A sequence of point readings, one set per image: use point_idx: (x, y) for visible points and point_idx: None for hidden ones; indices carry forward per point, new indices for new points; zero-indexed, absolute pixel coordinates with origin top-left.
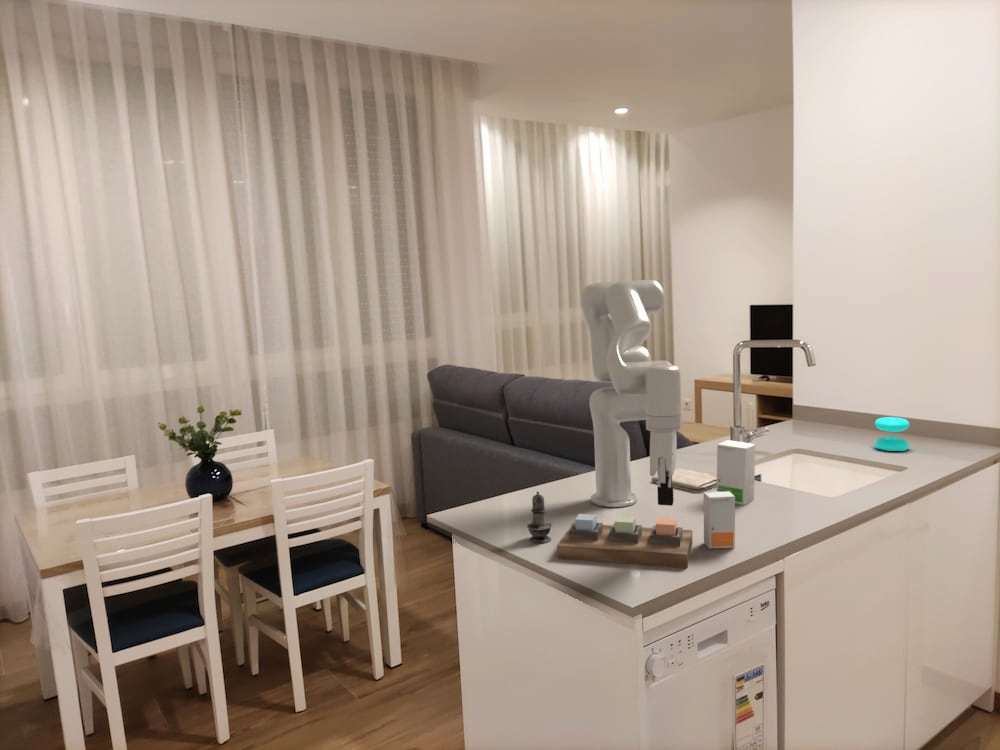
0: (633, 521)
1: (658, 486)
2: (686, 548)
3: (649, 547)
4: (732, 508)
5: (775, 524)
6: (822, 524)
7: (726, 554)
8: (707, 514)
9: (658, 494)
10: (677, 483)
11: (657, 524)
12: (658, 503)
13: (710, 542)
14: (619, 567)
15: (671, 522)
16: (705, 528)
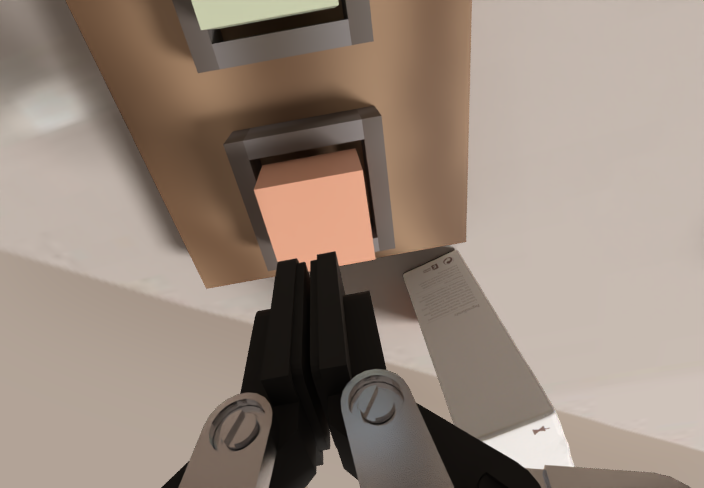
0: (237, 23)
1: (206, 425)
2: (262, 272)
3: (192, 141)
4: None
5: (623, 359)
6: (615, 421)
7: (375, 317)
8: (450, 357)
9: (270, 323)
10: None
11: (257, 198)
12: (278, 266)
13: (408, 291)
14: (51, 9)
15: (314, 254)
16: (453, 296)
